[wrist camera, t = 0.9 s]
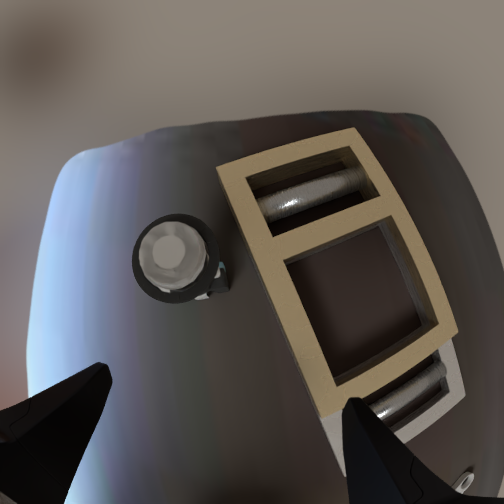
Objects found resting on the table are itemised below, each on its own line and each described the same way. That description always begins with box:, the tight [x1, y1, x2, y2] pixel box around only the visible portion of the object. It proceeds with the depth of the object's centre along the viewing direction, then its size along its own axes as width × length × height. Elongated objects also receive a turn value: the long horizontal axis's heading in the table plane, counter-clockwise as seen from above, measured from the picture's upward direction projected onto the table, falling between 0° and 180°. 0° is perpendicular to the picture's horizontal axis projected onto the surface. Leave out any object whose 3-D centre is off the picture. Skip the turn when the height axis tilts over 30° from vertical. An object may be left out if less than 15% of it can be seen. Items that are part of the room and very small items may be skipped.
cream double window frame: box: [216, 128, 465, 477], centre depth 22 cm, size 15×31×3 cm, turn 22°
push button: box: [132, 214, 229, 303], centre depth 19 cm, size 7×5×10 cm
